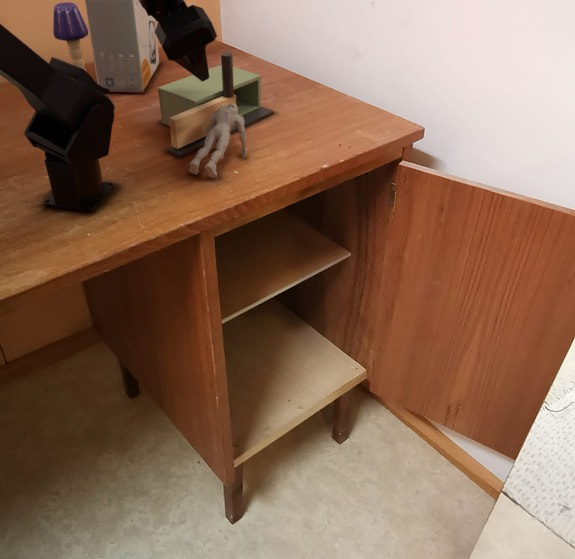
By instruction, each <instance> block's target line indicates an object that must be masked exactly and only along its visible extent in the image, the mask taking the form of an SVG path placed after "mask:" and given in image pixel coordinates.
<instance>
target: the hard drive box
mask: <svg viewBox="0 0 575 559" xmlns="http://www.w3.org/2000/svg"><path fill="white" fill-rule="evenodd" d="M84 4H85V10H86V16H87V17H86V18H87V24H88V32H89V37H90V43H91V50H92V58H93V64H94V70H95V77H96V83H97V84H98V85H100V86H102V87H105V88H107V89H109V92H108V93H110V92H111V93H113V92H115V93H137V94H139V93H140V94H143V93H144V91H145V90H146V88H147V87H148V85H149V82H150V81H151V79H152V77H153V75H154V73H155V72H156V71H157V68H158V67H159V65H160V58H159V57H160V55H159V46H158V45H159V44H158V38H157V36H156V34H155V30H156V27H157V24H156V20H155V19H154V18H153V17H152V16H151V15H150V16H148V14H147V12H146V10H145V9H144V8H143V7H142V5H141V3H140V2H139V0H84Z"/></svg>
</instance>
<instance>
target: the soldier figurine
mask: <svg viewBox="0 0 575 559" xmlns="http://www.w3.org/2000/svg"><path fill="white" fill-rule="evenodd" d="M236 124H237V127H238V131H237V132H238V138H239V140H240V143H241V149H240V150H239V153H240V154H241V153H243V154H242V156H241V157H242V158H246V156H247V153H248V148H247V142H248V136H247V133H246V127H244V118H243V116H242V115H241V114H240V115H238V108H237V105H236V104H234V103H230V104H228V106H226V107H225V106H221V107H219V108H218V111H215V112H213V113H212V114H211V118H210V120H209V124H208V125H207V126H206V139H205V142H204V143H205V145H204V146H203V147H201V148H199V149H198V150H197V152H196V155H195V156H194V158H193V159H192V160H191V161H190V163H189V167H190V168H189V169H188V171H189V172H190V174H191V175H194V176H197V175H199V172H200V170H199V168H200V164H201V161H202V160H203V159H204V158H207V157H208V156H209V152H211V151H212V149H213V148H214V146H215V145H216V142H217V145H216V150H215V151H214V152H212V154H211V156H210V158H209V161H208V162H207V163H206V164H205V165H204V167H203V168H204V170H205V171H206V172H208V174H207V176H208V177H210V178H211V179H217V178H218V172H217V163H218V161H221V160H223V159H224V155H225V151H226V150H227V149H228V147H229V144H230V141H231V136H232V133H231V134H230V132H231V130H232V129H233V128H234V127H235V126H236Z"/></svg>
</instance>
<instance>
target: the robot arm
mask: <svg viewBox="0 0 575 559" xmlns="http://www.w3.org/2000/svg"><path fill="white" fill-rule="evenodd" d="M139 2H140V3H141V5H142V7H143V8H144V9H145V10H146V12H147V14H148V16H150V15H151V16H152V17H153V18H154V19H155V22H157V24H156V30H155V34H156V36H157V41H158V42H159V44H160V46H161V48H162V50H163V52H164V54H165V56H166V58H167V60H168V61H172V62H174V63H176V64H178V65H179V66H181V67H182V68H183V69H185V70H186V71H187V72H188V73H190V74H191V75H194V76H195V77H197V78H198V79H199V80H201V81H205V80H207V79H209V70H208V69H209V64H208V58H207V46H208V45H209V44H211V43H212V42H215V40H216V39H217V37H218V34H217V32H216V29H215V27H214V24H213V22H212V21H211V19H210V16H208V14H207V12H206V11H205V10H204V8H203V7H200V6H198V5H194V4H191V5H189V6H188V5H187V3H186V1H185V0H139ZM0 76H1V77H2V78H3V79H5V80H7V81H8V82H9V83H10V84H12V85H13V86H15V87H16V88H17V89H18V90H19V91H20V92H21V94H22V95H23V97H24V98H25V100H26V102H27V103H28V105H29V106H30V107H31V108H32V109H33V110H34V113H33V115H32V116H31V119H30V121H29V122H28V124H27V126H26V128H25V130H24V133H23V134H24V136H25V138H26V139H27V140H28V142H29V144H30V145H31V146H32V147H34V148H37V149H39V150H41V151H43V152H44V158H45V159H44V165H45V169H46V174H47V177H48V181H49V184H50V189H51V193H50V194H49V195H48V196H47V197H46V198H45V199H43V201H42V202H43V206H44V207H45V208H53V209H54V208H55V209H62V210H70V211H78V212H87V213H94V212H95V211H96V210H97V209H98V208H99V206H100V205H101V204H102V203H103V202H104V200H105V199H106V198H107V197H108V196H109V195H110V194H111V192H112V191H113V190H114V189H115V183H114V182H109V181H103V175H102V171H101V165H100V164H101V163H100V159H102V158H105V157H107V156H109V155H110V154H109V153H110V146H111V138H112V132H113V125H114V121H115V109H116V106H115V103H114V101H113V100H112V99H111V98H110V97H109V96H108V95H107V94H108V93H110V92H109V89H107V88H105V87H102V86H100V85H98V83H97V81H96V80H95V79H94V78H93V77H92V75H91V74H90V73H89V72H88V71H87V70H86V71H85V70H84V69H83V68H80V67H78V66H75V65H72V63H70V62H67V61H64V60H62V59H59V58H56V57H54V56H51V57H50V60H49V62H48V61H47V60H45V59H44V58H43V57H42V56H41V55H39V54H38V53H37V52H35V51H34V50H33V49H32V48H31V47H30V46H28V45H27V44H26V43H24V42H23V41H22V40H21V39H19V37H17V36H16V35H15V34H14V33H12V31H10V30H9V29H7V28H6V27H5V26H4V25H2V24H1V23H0Z"/></svg>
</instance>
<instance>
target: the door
mask: <svg viewBox="0 0 575 559" xmlns="http://www.w3.org/2000/svg"><path fill="white" fill-rule="evenodd" d="M233 57H234V55H233V53H232V52H230V51H229V52H227V51H226V52H222V53H221V54H220V63H221V64H220V65H222V87H223V96H222V97H219V98H217V99H214V100H212V101H210V102H207V103H205V104H202V105H200V106H197V107H195V108H192V109H190V110H187V111H185V112H182V113H180V114H177V115H175V116H172V117H170V118H169V124H170V126H169V132H170V134H169V135H170V142H171V147H174V148H177V149H179V148H181V147H183V146H185V145H187V144H190V143H192V142H194V141H196V140H198V139H201V138H203V137H205V136H206V126H207V125H208V124H209V120H210V118H211V114H212V113H213V112H215V111H218V108H219V107H221V106H225V107H226V106H228V104H230V103H234V104H236V95H234V83H233V67H234V58H233Z"/></svg>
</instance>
